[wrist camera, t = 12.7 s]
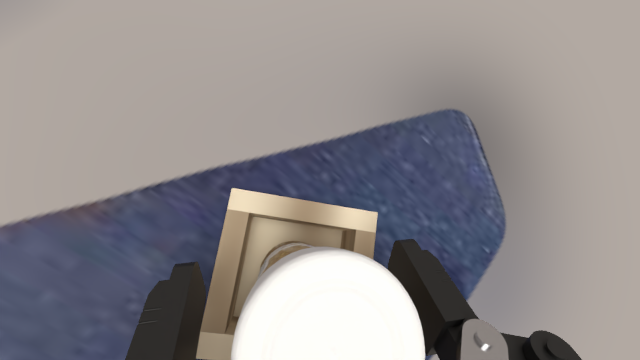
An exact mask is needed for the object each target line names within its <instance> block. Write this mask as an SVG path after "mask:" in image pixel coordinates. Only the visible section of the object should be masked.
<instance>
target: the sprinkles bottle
mask: <svg viewBox="0 0 640 360" xmlns="http://www.w3.org/2000/svg"><path fill="white" fill-rule="evenodd" d="M231 360H425V345H424V336H423V330H422V325H421V322H420V319H419V315H418V312H417V310H416V307H415V306H414V304H413V302H412V300H411V298H410V296H409V294H408V293H407V291H406V290H405V288H404V287H403V285H402V284H401V283H400V282H399V280H398V279H397V278H396V277H395V276H394V275H393V274H392V273H391V272H390V271H389V270H387V269H386V268H385V267H384V266H382V265H381V264H379V263H377V262H376V261H374V260H373V259H371V258H369V257H367V256H364V255H362V254H359V253H356V252H352V251H349V250H345V249H340V248H334V247H314V246H311V245H308V244H306V243H304V242H299V241H288V242H284V243H281V244H279V245H277V246H276V247H274V248H273V249H272V250H271V251H269V252H268V254H267V255H266V256H265V258H264V260H263V261H262V263H261V266H260V272H259V275H258V278H257V281H256V283H255V284H254V286H253V288H252V289H251V291H250V293H249V295H248V296H247V298H246V301H245V303H244V305H243V308H242V311H241V313H240V316H239V319H238V322H237V326H236V329H235V333H234V338H233V343H232V350H231Z"/></svg>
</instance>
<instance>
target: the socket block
mask: <svg viewBox="0 0 640 360" xmlns="http://www.w3.org/2000/svg"><path fill="white" fill-rule="evenodd" d="M377 214H378V213H377V212H371V211H365V210H359V209H353V208H347V207H341V206H335V205H330V204H324V203H318V202H312V201H306V200H300V199H294V198H288V197H282V196H277V195H271V194H265V193H259V192H253V191H247V190H241V189H235V188H232V190H231V194H230V199H229V203H228V208H227V212H226V217H225V221H224V226H223V230H222V235H221V239H220V244H219V248H218V253H217V258H216V262H215V267H214V271H213V276H212V280H211V285H210V289H209V294H208V298H207V303H206V307H205V312H204V316H203V321H202V325H201V330H200V336H199V342H198V348H197V354H196V358H197V359H208V360H231V350H232V343H233V338H234V333H235V329H236V326H237V322H238V319H239V316H240V313H241V311H242V308H243V305H244V303H245V301H246V298H247V296H248V295H249V293H250V291H251V289H252V288H253V286H254V284H255V283H256V281H257V278H258V275H259V272H260V266H261V263H262V261H263V260H264V258H265V256H266V255H267V254H268V252H269V251H271V250H272V249H273V248H274V247H276V246H277V245H279V244H281V243H284V242H288V241H299V242H304V243H306V244H308V245H311V246H314V247H334V248H340V249H345V250H349V251H352V252H356V253H359V254H362V255H364V256H367V257H369V258H371V259H373V254H374V244H375V234H376V224H377Z"/></svg>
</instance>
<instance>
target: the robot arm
mask: <svg viewBox="0 0 640 360" xmlns="http://www.w3.org/2000/svg"><path fill="white" fill-rule="evenodd" d="M388 270H389V271H390V272H391V273H392V274H393V275H394V276H395V277H396V278H397V279H398V280H399V282H400V283H401V284H402V285H403V287H404V288H405V290H406V291H407V293H408V294H409V296H410V298H411V300H412V302H413V304H414V306H415V307H416V310H417V312H418V315H419V319H420V322H421V325H422V330H423V336H424V345H425V353H426V355H427V356H428V355H433V354H437V355H438V357H439V359H440V360H581V358H580V357H579V356H578V354H577V353H576V352H575V351H574V350H573V349H572V347H570V345H569V344H567V343H566V342H565V341H564V340H563V339H561V338H560V337H558V336H556V335H554V334H552V333H550V332H547V331H535V332H534V333H533V334H532V335H531V336H530V337H529V338H526V337H520V336H514V335H509V334H504V333H500V332H499V331H498V330H497V329H496V328H495V327H493V326H492V325H491V324H489V323H487V322H485V321H483V320H480V319H479V318H478V317H477V316H476V315H475V314H474V312H473V310H472V309H471V308H470V306H469V305H468V303H467V302H466V300H465V299H464V297H463V296H462V294H461V293H460V291H459V290H458V288H457V287H456V285H455V284H454V282H453V281H451V278H450V277H449V275H448V274H447V272H445V269H444V268H443V266H442V265H441V263H440V262H439V260H438V259H437V258H436V257H435V256H433V255H432V254H431V253H430V252H429V251H427V250H421V248H420V247H419V245H418V244H417V242H416V241H415V240H414V239H407V240H398V241H395V242H394V245H393V249H392V252H391V256H390V259H389V263H388ZM205 298H206V291H205V285H204V281H203V278H202V274H201V271H200V268H199V264H198V262H191V263H182V264H175V266H174V267H173V270H172V273H171V277H170V280H164V281H159V282H158V283H157V285H156V286H155V287H154V288H153V290H152V291H151V292H150V293H149V295H148V297H147V300H146V303H145V306H144V308H143V313H142V314H141V317H140V320H139V325H137V328H136V331H135V334H134V336H133V339H132V342H131V345H130V348H129V350H128V353H127V356H126V359H125V360H196V354H197V348H198V342H199V336H200V330H201V324H202V318H203V312H204V306H205Z"/></svg>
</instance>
